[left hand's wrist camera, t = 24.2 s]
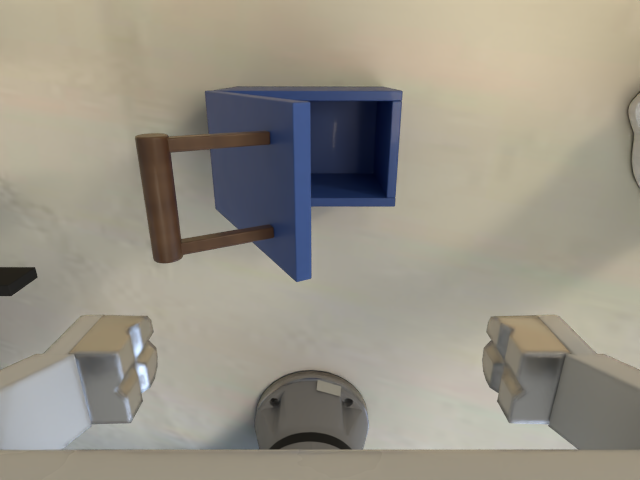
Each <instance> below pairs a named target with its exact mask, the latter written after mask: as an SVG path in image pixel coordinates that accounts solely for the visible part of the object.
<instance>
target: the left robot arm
mask: <svg viewBox="0 0 640 480" xmlns="http://www.w3.org/2000/svg"><path fill="white" fill-rule="evenodd" d="M628 114H629V119H630V123H631V126H632V129H633V132H634V142H633V150H632V168H633V173H634V176H635V179H636V181H637V183H638V185H639V187H640V93H639V94H638V95H637V96H636V97H635V98H634V99H633V101H632V102H631V104H630V106H629V110H628ZM152 334H153V327H152V322H151V319H150V318H149V317H148V316H125V315H85V316H81V317H80V318H79V319H78V320H77V321H76V322H75V323H74V324H73V325H72V326H71V327H70V328H69V329H68V330H67V331H66V332H65V333H64V334H63V335H62V336H61V337H60V338H59V339H58V340H57V341H56V342H55V343H53V344H52V345H51V346H50V347H49V348H48V349H47V350H46V351H45V352H44V353H43V354H35V355H33V356H31V357H28V358H26V359H24V360H21V361H19V362H17V363H15V364H12V365H10V366H8V367H6V368H3V369H1V370H0V480H640V370H639V369H637V368H634V367H632V366H630V365H628V364H625V363H623V362H621V361H618V360H616V359H614V358H612V357H609V356H607V355H605V354H597V353H596V352H595V351H594V350H593V349H592V348H591V347H590V346H589V345H588V344H587V343H586V342H585V341H584V340H583V339H582V338H581V337H580V336H579V335H578V334H577V333H576V332H575V331H574V330H573V329H572V328H571V327H570V326H569V325H568V324H567V323H566V322H565V321H564V320H563V319H562V318H561V317H559V316H557V315H531V316H494V317H491V318H490V320H489V322H488V326H487V334H488V335H489V337H490V338H491V341H490V342H489V343H488V344H487V345H486V346H485V347H484V350H483V358H482V362H483V372H484V375H485V379H486V381H487V383H488V385H489V387H490V388H491V389H493V390H494V391H496V392H497V393H499V394H498V400H497V402H498V403H499V405H500V407H501V409H502V411H503V413H504V414H505V416H506V418H507V420H508V422H509V423H526V424H549V425H548V426H549V427H550V428H552V429H553V430H554V431H555V432H557V433H558V434H559V435H561V436H562V437H563V438H564V439H566V440H567V441H568V442H570V443H571V444H572V445H573V446H575V447H576V448H577V449H578V450H62V449H63V448H64V447H66V446H67V445H68V444H69V443H71V442H72V441H73V440H74V439H76V438H77V437H78V436H80V435H81V434H82V433H83V432H85V431H86V430H87V429H89V428H90V427H91V426H92V425H91V424H113V423H131V422H132V420H133V418H134V416H135V414H136V413H137V411H138V409H139V407H140V405H141V403H142V402H143V400H142V394H141V393H143V392H144V391H146V390H147V389H149V388H150V387H151V385H152V383H153V381H154V379H155V375H156V371H157V358H158V357H157V350H156V347H155V346H154V345H153V344H152V343H151V342H150V341H149V338H150V337H151V335H152Z"/></svg>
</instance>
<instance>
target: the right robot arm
mask: <svg viewBox="0 0 640 480" xmlns="http://www.w3.org/2000/svg"><path fill="white" fill-rule="evenodd" d="M36 278H37V273H36V269H35V267H0V296H12V295H13V294H15V293H16V292H18V291H19V290H20V289H22V288H23V287H25V286H26V285H27V284H29V283H30V282H32V281H33V280H34V279H36ZM368 427H369V422H368V415H367V408H366V404H365V402H364V399H363V397H362V396H361V394H360V393H359V391H358V390H357V389H356V388H355V387H354V386H353V385H351V384H350V383H349V382H347V381H346V380H344V379H342V378H340V377H338V376H335V375H333V374H329V373H325V372H318V371H305V372H298V373H294V374H290V375H287V376H285V377H283V378H281V379H279V380H277V381H276V382H274V383H273V384H272V385H270V386H269V387H268V388H267V389H266V391H265V392H264V393H263V395H262V396H261V398H260V400H259V403H258V406H257V411H256V416H255V432H256V436H257V440H258V444H259V449H260V450H363V447H364V444H365V440H366V437H367V433H368Z"/></svg>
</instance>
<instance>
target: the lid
mask: <svg viewBox="0 0 640 480" xmlns="http://www.w3.org/2000/svg"><path fill="white" fill-rule="evenodd" d="M205 97H206V108H207V120H208V131H209V134H201V135H185V136H170V137H168V135H166V134H160V133H152V134H141V135H137V136H136V137H135V141H136V147H137V154H138V160H139V167H140V174H141V180H142V187H143V193H144V200H145V207H146V213H147V220H148V226H149V233H150V239H151V246H152V253H153V259H154V260H155V261H156V262H158V263H171V262H175V261H178V260H180V259H181V258H182V257H183V255H184V254H190V253H195V252H201V251H206V250H211V249H217V248H222V247H227V246H233V245H238V244H244V243H249V242H253V243H254V244H255V245H256V246H257V247H258V248H259V249H261V250H262V251H263V252H264V253H265V254H266V255H267V256H268V257H269V258H271V259H272V260H273V261H274V262H275V263H276V264H277V265H278V266H279V267H280V268H282V269H283V270H284V271H285V272H286V273H287V274H288V275H289V276H290V277H291V278H293V279H294V280H295V281H296V282H299V281H303V280H307V279H311V142H310V102H306V101H298V100H290V99H281V98H273V97H265V96H256V95H248V94H240V93H231V92H223V91H205ZM208 149H210V153H211V164H212V175H213V186H214V197H215V208H216V210H218V211H219V212H220V213H221V214H222V215H223V216H224V217H225V218H226V219H227V220H229V221H230V222H231V223H232V224H233V225H234V226H235V227H236V228H237V229H238V230H232V231H227V232H221V233H215V234H209V235H203V236H197V237H191V238H185V239H181V234H180V226H179V218H178V210H177V202H176V194H175V185H174V177H173V169H172V161H171V153H170V152H182V151H195V150H208Z"/></svg>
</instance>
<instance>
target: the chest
mask: <svg viewBox="0 0 640 480" xmlns="http://www.w3.org/2000/svg"><path fill="white" fill-rule="evenodd" d="M214 91H223V92H231V93H240V94H248V95H256V96H265V97H273V98H281V99H290V100H298V101H306V102H310V142H311V206H395V195H396V180H397V165H398V150H399V136H400V121H401V106H402V91H400V90H395V89H391V88H386V87H232V88H226V89H220V90H214Z"/></svg>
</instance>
